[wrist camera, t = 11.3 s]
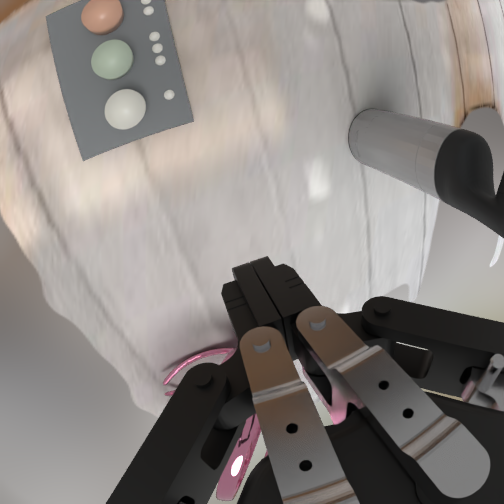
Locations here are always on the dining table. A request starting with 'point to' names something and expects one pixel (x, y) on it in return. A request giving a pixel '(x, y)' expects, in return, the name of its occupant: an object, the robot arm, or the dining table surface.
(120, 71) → the sage button
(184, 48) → the dining table surface
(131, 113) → the cream button
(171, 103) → the charcoal panel
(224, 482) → the spiral basket
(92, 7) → the terracotta button
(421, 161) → the robot arm
